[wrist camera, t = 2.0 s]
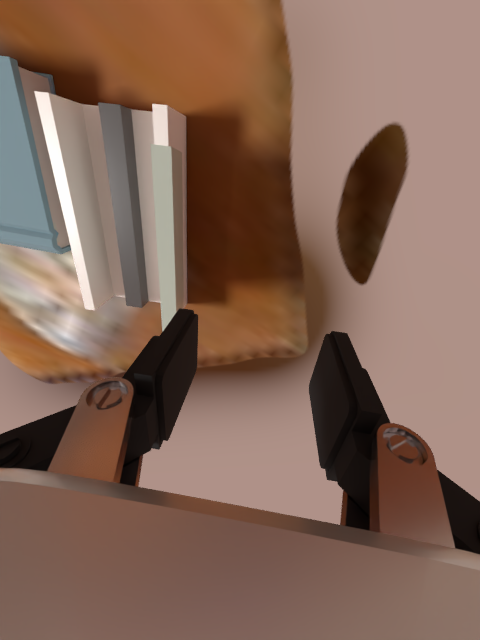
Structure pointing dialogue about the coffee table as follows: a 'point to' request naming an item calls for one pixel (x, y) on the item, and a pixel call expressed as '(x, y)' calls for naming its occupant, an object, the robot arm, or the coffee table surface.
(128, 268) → the white channel
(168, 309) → the cover
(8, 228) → the book
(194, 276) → the coffee table surface
